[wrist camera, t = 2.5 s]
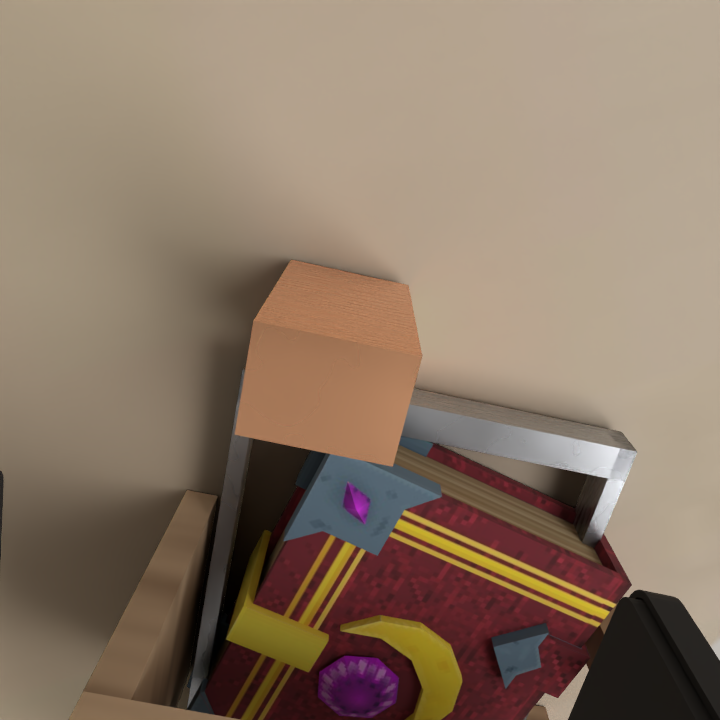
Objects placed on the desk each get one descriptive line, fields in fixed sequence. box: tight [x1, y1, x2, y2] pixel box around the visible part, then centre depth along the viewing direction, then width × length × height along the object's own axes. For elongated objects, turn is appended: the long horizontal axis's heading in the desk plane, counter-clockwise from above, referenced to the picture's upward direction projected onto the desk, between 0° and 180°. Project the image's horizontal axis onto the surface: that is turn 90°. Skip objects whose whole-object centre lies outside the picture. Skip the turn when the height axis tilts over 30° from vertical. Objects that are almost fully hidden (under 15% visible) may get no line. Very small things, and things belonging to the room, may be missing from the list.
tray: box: [187, 260, 637, 720], centre depth 23 cm, size 24×14×7 cm, turn 168°
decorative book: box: [187, 436, 632, 720], centre depth 25 cm, size 11×16×5 cm
